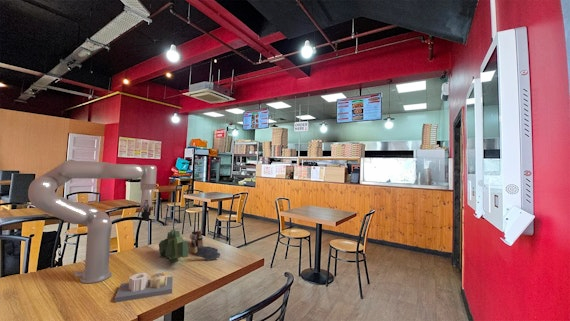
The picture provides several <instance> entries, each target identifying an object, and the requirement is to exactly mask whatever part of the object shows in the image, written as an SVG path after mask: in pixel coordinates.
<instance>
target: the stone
mask: <svg viewBox="0 0 570 321" xmlns="http://www.w3.org/2000/svg"><path fill="white" fill-rule="evenodd" d="M195 254H196V255H197V256H198V257H199V258H203V259H205V260H206V261H207V262H209V261H211V260H214V259H220V257H221V253H220V252H218V248H216V247H212V246H206V245H203V246H200V248H199V250H198V252H196V253H195Z"/></svg>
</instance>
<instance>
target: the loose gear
mask: <svg viewBox="0 0 570 321" xmlns="http://www.w3.org/2000/svg"><path fill="white" fill-rule="evenodd" d="M137 277H141V278H137ZM148 280H149V274H147V273H146V272H141V273H140V272H139V273H134V274H133V275H131V276H129V279H128V282H129V289H130V290H131V291H133V292H134V291H139V290H143V289H144V288H145V287H147V286H148Z"/></svg>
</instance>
